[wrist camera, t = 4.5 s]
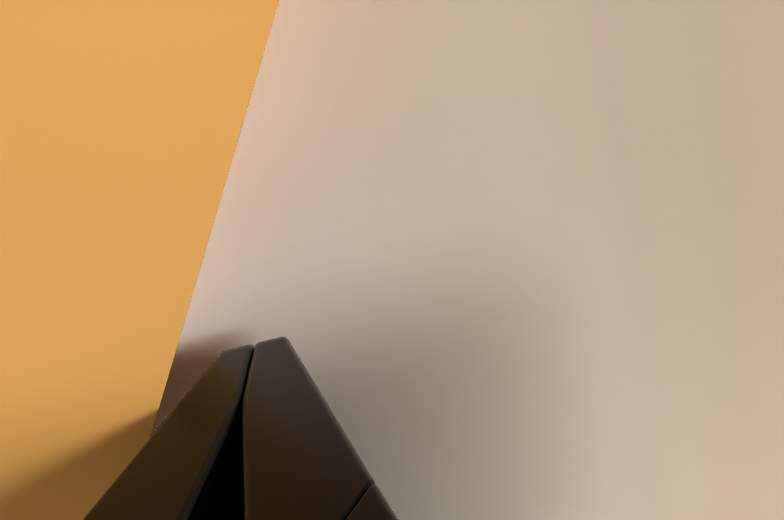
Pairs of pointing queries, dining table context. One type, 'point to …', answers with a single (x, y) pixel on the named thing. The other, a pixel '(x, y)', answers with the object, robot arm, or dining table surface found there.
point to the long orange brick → (105, 222)
